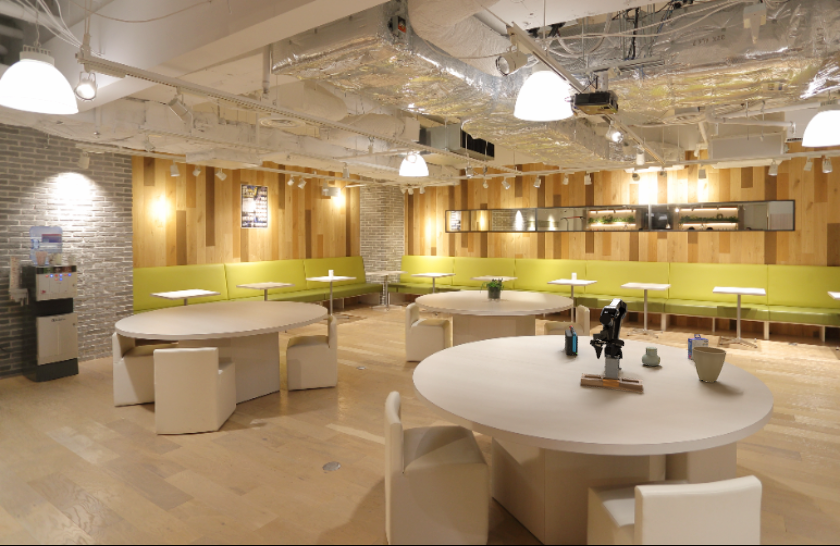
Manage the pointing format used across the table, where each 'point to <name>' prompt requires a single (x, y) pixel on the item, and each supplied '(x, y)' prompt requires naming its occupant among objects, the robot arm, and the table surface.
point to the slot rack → (612, 383)
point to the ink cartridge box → (696, 344)
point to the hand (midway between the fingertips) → (604, 358)
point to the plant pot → (708, 362)
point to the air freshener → (651, 357)
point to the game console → (571, 341)
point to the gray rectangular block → (611, 368)
